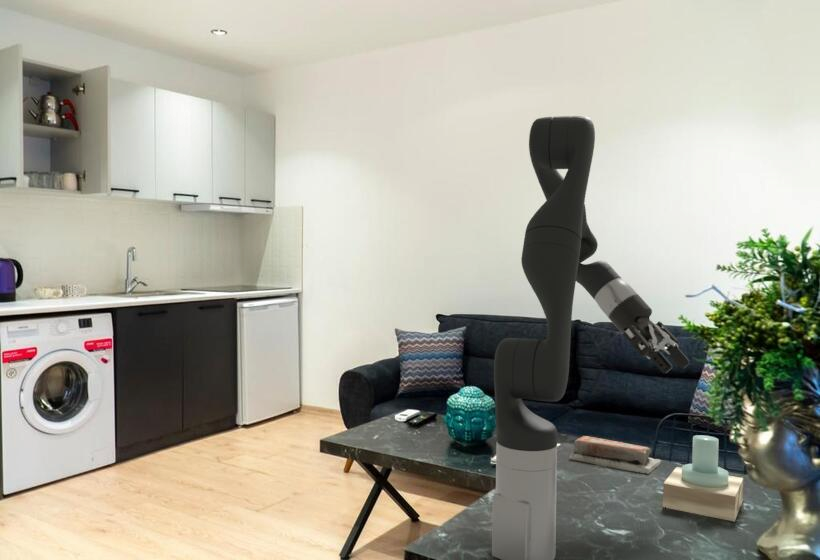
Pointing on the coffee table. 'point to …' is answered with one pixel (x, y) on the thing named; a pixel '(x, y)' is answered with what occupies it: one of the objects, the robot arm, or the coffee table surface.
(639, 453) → the packaged product
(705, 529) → the coffee table surface
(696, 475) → the mint green knob
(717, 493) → the block
